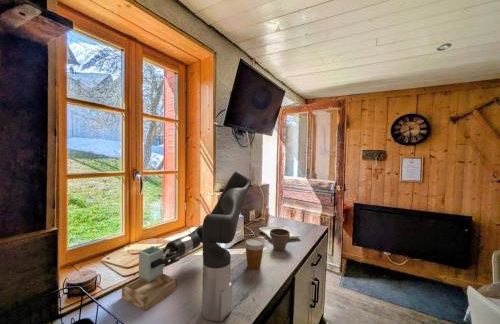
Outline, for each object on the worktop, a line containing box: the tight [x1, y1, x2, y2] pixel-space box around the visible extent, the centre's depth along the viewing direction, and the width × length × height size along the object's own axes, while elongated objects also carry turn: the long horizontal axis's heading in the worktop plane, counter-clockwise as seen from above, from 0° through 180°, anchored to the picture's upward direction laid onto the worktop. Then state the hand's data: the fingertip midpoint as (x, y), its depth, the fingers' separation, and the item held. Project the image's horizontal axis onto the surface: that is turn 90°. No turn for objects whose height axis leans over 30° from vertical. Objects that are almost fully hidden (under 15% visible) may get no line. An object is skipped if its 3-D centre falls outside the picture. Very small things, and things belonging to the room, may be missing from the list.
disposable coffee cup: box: [244, 238, 265, 271], centre depth 107 cm, size 10×10×12 cm
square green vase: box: [138, 245, 164, 282], centre depth 84 cm, size 6×6×10 cm
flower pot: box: [270, 229, 290, 252], centre depth 128 cm, size 12×11×10 cm
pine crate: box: [121, 273, 178, 311], centre depth 84 cm, size 13×14×4 cm
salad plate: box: [258, 225, 301, 241], centre depth 150 cm, size 21×21×3 cm
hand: (145, 263), depth 82 cm, fingers closed on square green vase, 6 cm apart
